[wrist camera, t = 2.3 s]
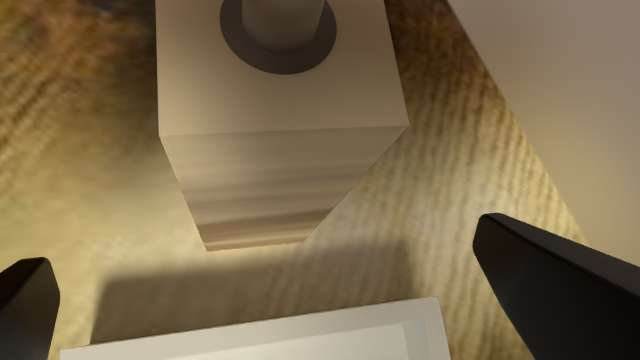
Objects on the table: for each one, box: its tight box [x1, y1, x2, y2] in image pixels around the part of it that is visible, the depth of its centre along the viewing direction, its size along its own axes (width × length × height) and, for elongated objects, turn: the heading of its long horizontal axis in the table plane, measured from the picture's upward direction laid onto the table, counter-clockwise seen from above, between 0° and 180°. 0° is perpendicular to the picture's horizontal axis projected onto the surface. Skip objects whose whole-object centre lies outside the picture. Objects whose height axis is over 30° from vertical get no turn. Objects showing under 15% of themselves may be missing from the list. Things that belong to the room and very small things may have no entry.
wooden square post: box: [156, 0, 410, 252], centre depth 13 cm, size 4×4×16 cm
